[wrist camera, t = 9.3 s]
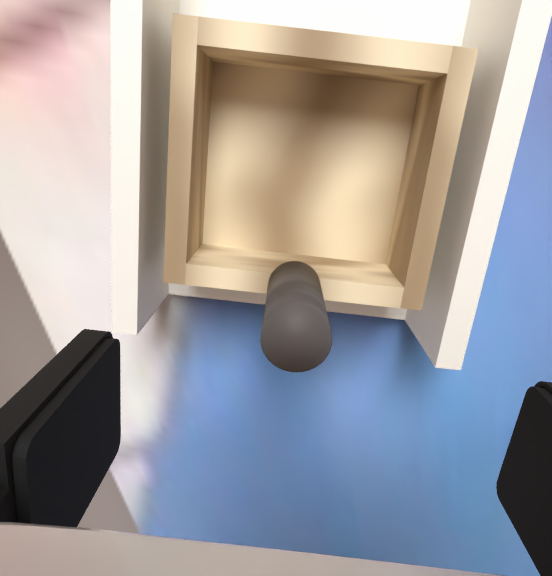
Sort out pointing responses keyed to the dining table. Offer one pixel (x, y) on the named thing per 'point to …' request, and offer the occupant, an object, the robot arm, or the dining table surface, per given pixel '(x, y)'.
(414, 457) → the dining table surface
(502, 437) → the dining table surface
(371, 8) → the bay
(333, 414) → the dining table surface
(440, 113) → the box
